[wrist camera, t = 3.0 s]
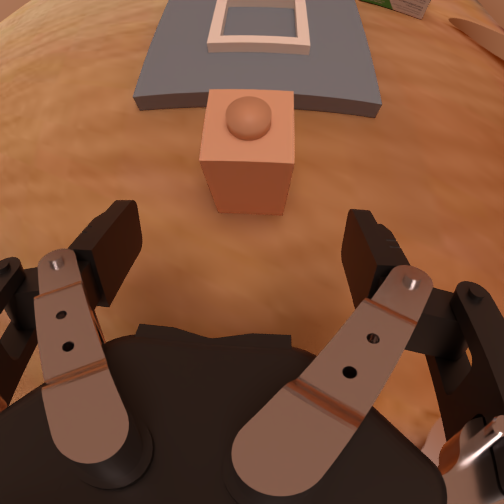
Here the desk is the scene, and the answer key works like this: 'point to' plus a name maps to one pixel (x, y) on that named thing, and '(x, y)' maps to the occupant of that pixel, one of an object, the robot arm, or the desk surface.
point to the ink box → (404, 6)
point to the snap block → (248, 149)
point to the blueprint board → (261, 54)
